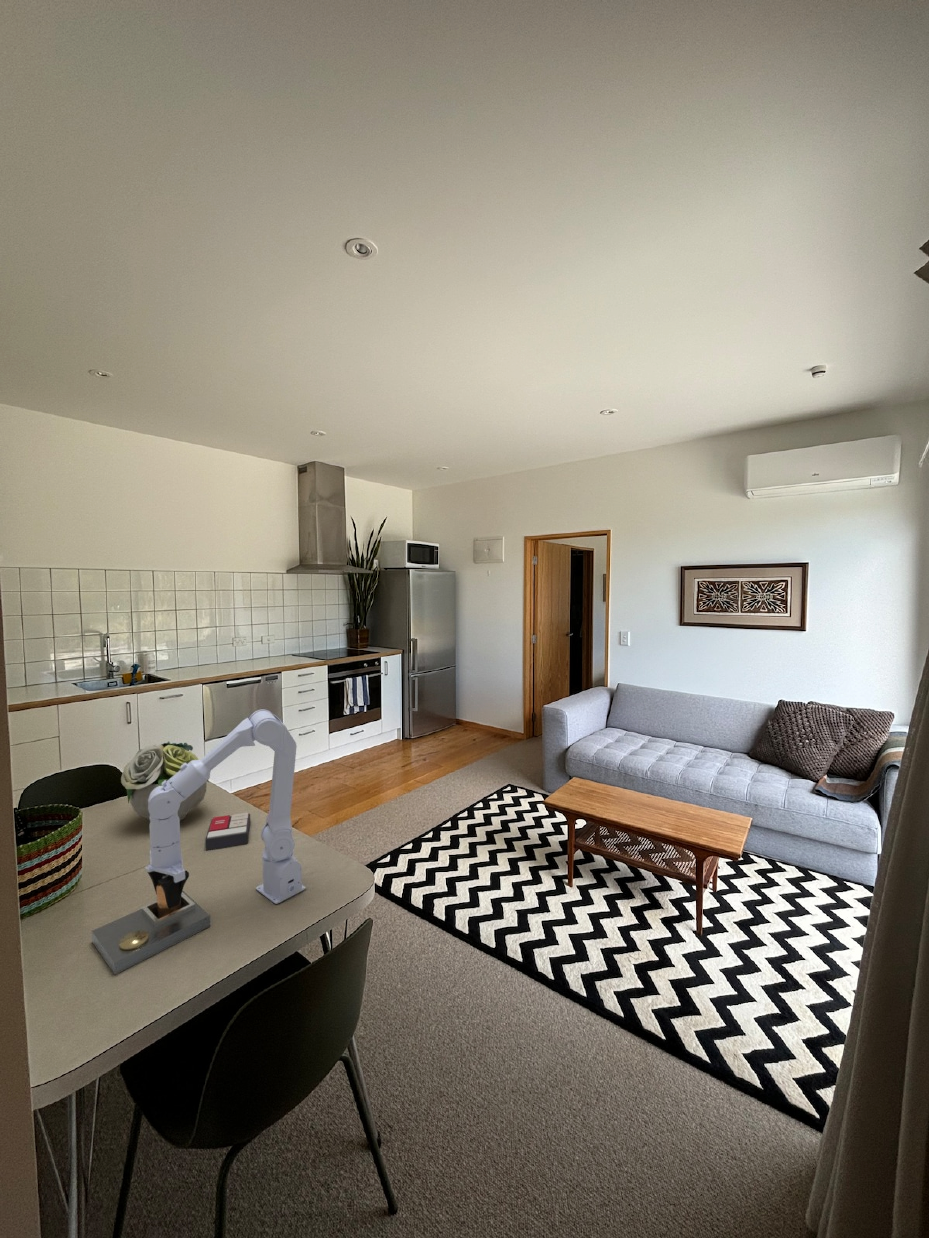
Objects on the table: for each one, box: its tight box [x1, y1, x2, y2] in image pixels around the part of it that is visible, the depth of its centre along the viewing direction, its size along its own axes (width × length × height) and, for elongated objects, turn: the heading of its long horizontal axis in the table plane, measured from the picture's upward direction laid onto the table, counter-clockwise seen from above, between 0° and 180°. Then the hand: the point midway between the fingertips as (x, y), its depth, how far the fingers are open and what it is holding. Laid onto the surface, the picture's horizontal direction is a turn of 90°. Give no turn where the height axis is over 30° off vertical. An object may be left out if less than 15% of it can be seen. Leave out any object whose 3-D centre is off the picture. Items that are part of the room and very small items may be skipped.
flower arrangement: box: [120, 741, 209, 821], centre depth 161 cm, size 25×25×24 cm
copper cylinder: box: [156, 874, 181, 919], centre depth 113 cm, size 4×4×10 cm
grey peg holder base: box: [91, 890, 211, 976], centre depth 109 cm, size 14×18×4 cm
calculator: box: [204, 812, 251, 852], centre depth 152 cm, size 11×4×15 cm
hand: (168, 900), depth 113 cm, fingers open, 5 cm apart
